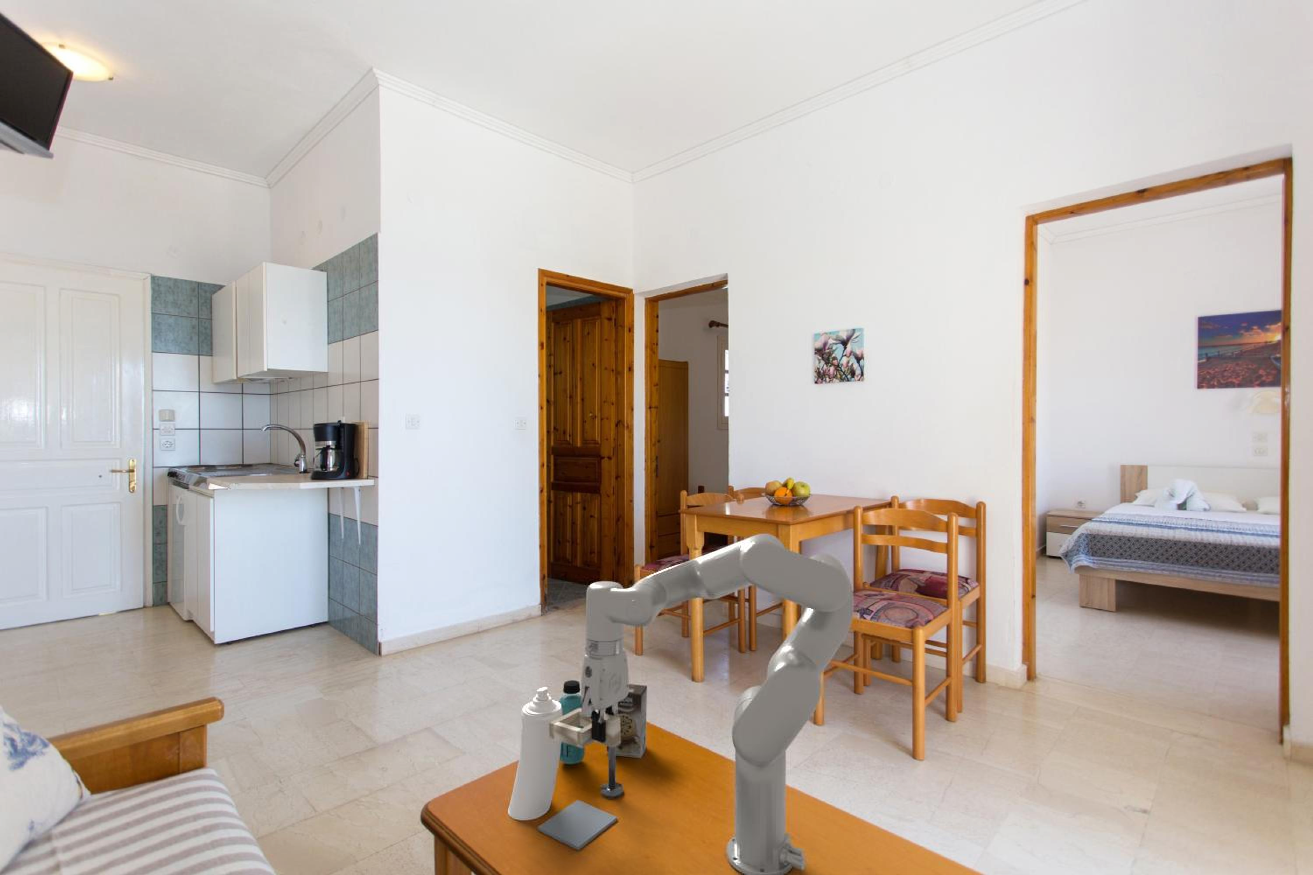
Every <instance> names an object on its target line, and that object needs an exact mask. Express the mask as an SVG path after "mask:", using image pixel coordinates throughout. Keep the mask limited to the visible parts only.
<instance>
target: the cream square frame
mask: <svg viewBox="0 0 1313 875" xmlns="http://www.w3.org/2000/svg"><path fill="white" fill-rule="evenodd" d="M604 722H606V741H605V742H604V743H601V742H599V741H596V740H593V739H592V720H590V719H589V717H587V716H584V715H581V708H578V709H576V710H574V711H572V712H570V713H568V714H566V715H564V716H562V717H560V718H558V719H556V720H554V721H552V722H550V723H549V738H552V739H555V740H558V741H561V742H564V743H568V744H571V745H574V746H577V747H580V748H584V749H585V748H586V747H587V746H589V745H591V744H592V743H597V744H599V745H603V746H606V747H607V746H609V747H612V748H614V747H615V746H617V745H619V744H620V743H621V729H620V717H617V716H613V715H609V714H605V712H604ZM578 726H583V727H584V728H582V729H581V728H577V727H578Z"/></svg>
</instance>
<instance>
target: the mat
mask: <svg viewBox="0 0 1313 875" xmlns="http://www.w3.org/2000/svg"><path fill="white" fill-rule="evenodd" d="M617 821H618V817H617V816H615V815H614V814H611V813H608V812H607V811H604V810H602V809H599V808H597V807H595V806H592V805H590V804H589V803H586V802H584V801H581V800H579V799H576V801H574V802H572V803H571V804H569V805H568V806H566V807H565V808H564V809H562V810H560V811H559V812H558V813H556V814H555V815H553V816H552V817H550V818H549V819H547V820H546V821H545V822H543V823H542V824H540V825H539V826H537V830H538V831H539V832H541V833H543V834H545V835H546V836H548V837H551V838H553V839H554V840H557V841H559V842H560V843H563V844H565V845H567V846H568V847H571V848H573V849H575V850H577V851H580V850H581V849H582V848H583V847H585V846H586V845H587V844H588V843H590V842H591V841H592V840H593V839H594V838H597V837H598V835H600V834H601V833H603V832H604V831H605V830H606V829H608V828H609V827H610V826H612V825H613V824H614V823H615V822H617Z"/></svg>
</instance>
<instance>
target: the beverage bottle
mask: <svg viewBox="0 0 1313 875" xmlns="http://www.w3.org/2000/svg"><path fill="white" fill-rule="evenodd" d="M562 692H563V695H562V696H561V697H560V699H559V700H558V702H559V703H560V704H561V708H562V715H563V716H564V715H566V714H568V713H570V712H572V711H574V710H576V709H578V708H581V709H582V706H583V705H582V702H581V694H579V693H581V685H580V681H578V680H566V681H565V682H564V683H563V690H562ZM577 728H581V729H582V728H584V727H583V726H578V727H577ZM584 759H585V747H584V748H580V747H577V746H574V745H571V744H568V743H564V742H561V750H560V759H559V762H561V763H564V764H566V765H575V764H578V763H580V762H582V761H583V760H584Z"/></svg>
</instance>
